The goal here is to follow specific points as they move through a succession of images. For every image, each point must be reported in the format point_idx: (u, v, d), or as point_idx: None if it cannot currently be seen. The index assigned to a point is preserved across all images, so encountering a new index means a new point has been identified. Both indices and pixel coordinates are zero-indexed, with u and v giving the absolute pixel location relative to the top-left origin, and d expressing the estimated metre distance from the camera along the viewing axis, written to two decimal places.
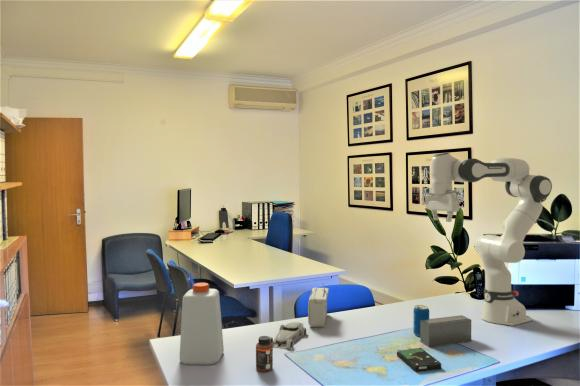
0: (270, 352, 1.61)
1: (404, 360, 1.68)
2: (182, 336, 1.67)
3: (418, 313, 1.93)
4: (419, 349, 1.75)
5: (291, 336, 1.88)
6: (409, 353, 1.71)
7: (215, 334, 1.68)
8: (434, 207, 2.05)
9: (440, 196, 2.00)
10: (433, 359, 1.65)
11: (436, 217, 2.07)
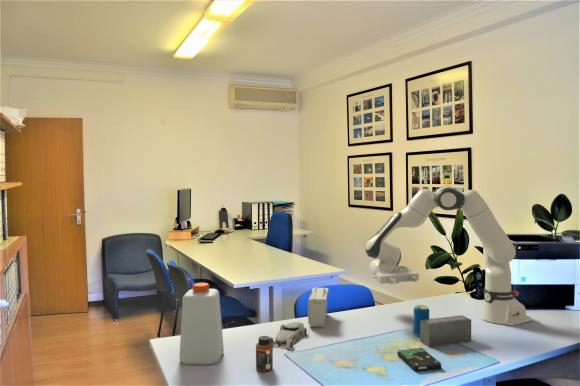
0: (270, 352, 1.61)
1: (404, 360, 1.68)
2: (182, 336, 1.67)
3: (418, 313, 1.93)
4: (420, 349, 1.75)
5: (291, 336, 1.88)
6: (409, 353, 1.71)
7: (215, 334, 1.68)
8: None
9: None
10: (433, 359, 1.65)
11: (412, 280, 2.09)
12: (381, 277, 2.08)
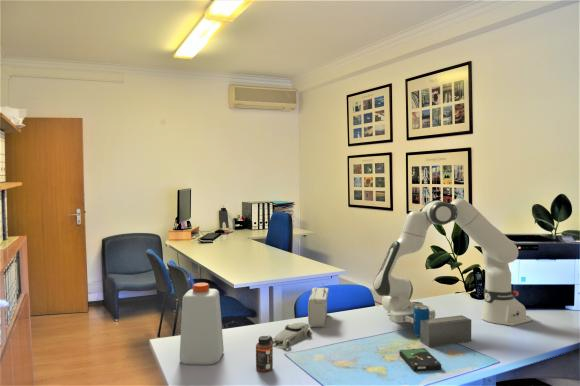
0: (270, 352, 1.61)
1: (405, 359, 1.68)
2: (182, 336, 1.67)
3: (418, 313, 1.93)
4: (422, 349, 1.75)
5: (290, 336, 1.87)
6: (411, 353, 1.71)
7: (215, 334, 1.68)
8: None
9: None
10: (434, 360, 1.65)
11: None
12: (396, 316, 1.97)
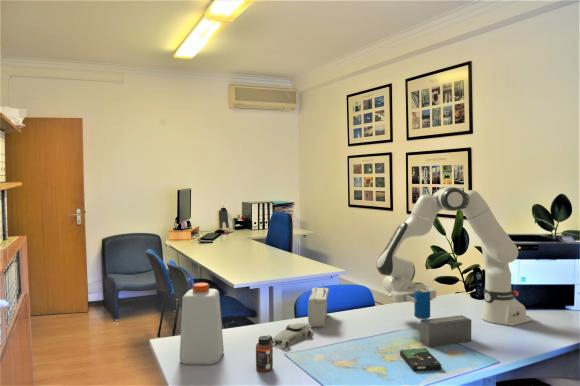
0: (270, 352, 1.61)
1: (405, 359, 1.68)
2: (182, 336, 1.67)
3: (419, 296, 1.93)
4: (423, 349, 1.74)
5: (290, 336, 1.87)
6: (411, 353, 1.71)
7: (215, 334, 1.68)
8: None
9: None
10: (434, 360, 1.65)
11: None
12: (396, 296, 1.96)
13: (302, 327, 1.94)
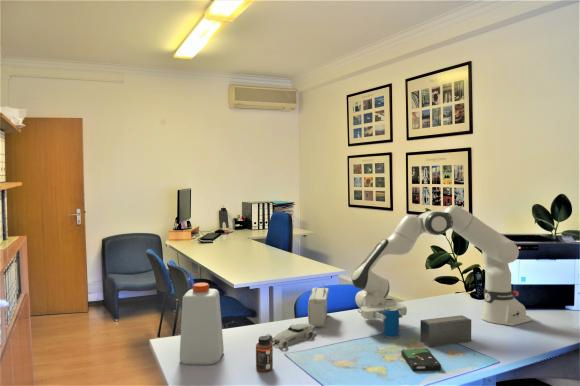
0: (270, 352, 1.61)
1: (406, 359, 1.69)
2: (182, 336, 1.67)
3: (388, 315, 1.91)
4: (424, 350, 1.74)
5: (289, 337, 1.87)
6: (412, 353, 1.71)
7: (215, 334, 1.68)
8: None
9: None
10: (434, 360, 1.65)
11: None
12: (366, 312, 1.95)
13: (304, 328, 1.93)
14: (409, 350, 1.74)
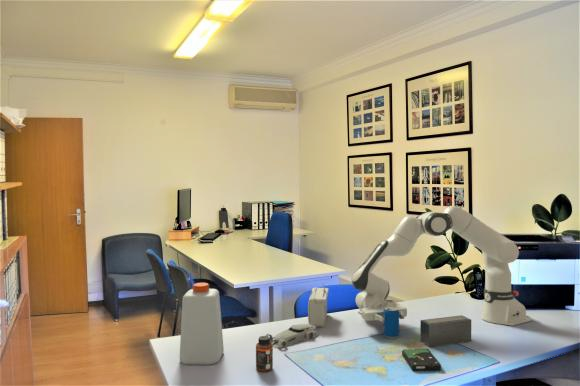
0: (270, 352, 1.61)
1: (406, 359, 1.69)
2: (182, 336, 1.67)
3: (388, 315, 1.91)
4: (425, 350, 1.74)
5: (289, 337, 1.87)
6: (412, 353, 1.71)
7: (215, 334, 1.68)
8: None
9: None
10: (434, 360, 1.64)
11: (399, 317, 1.95)
12: (366, 314, 1.95)
13: (304, 328, 1.93)
14: (410, 350, 1.74)
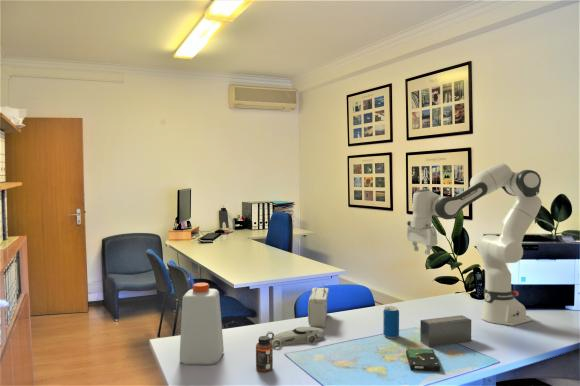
0: (270, 352, 1.61)
1: None
2: (182, 336, 1.67)
3: (388, 315, 1.91)
4: (430, 350, 1.73)
5: (287, 337, 1.86)
6: (415, 353, 1.71)
7: (215, 334, 1.68)
8: (414, 240, 2.19)
9: (420, 230, 2.14)
10: (435, 361, 1.64)
11: (416, 248, 2.21)
12: (435, 244, 2.08)
13: (307, 331, 1.90)
14: (414, 350, 1.74)
